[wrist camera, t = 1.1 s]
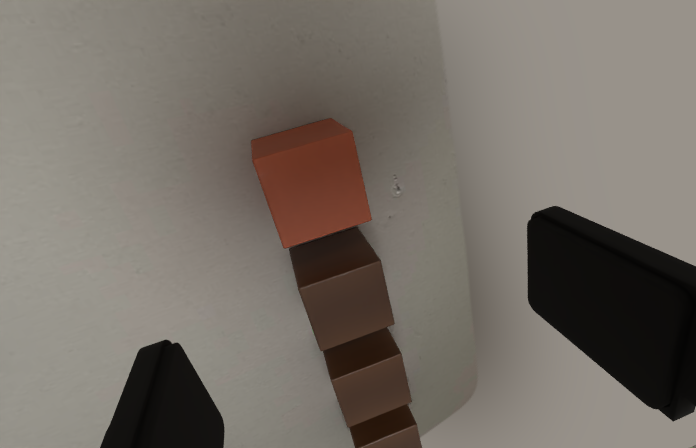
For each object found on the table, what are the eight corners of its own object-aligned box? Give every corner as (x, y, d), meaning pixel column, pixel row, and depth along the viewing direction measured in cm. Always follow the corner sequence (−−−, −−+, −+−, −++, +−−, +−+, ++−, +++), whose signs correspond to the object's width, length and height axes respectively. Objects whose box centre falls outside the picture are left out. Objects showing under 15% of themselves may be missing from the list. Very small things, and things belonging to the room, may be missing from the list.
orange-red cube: (250, 140, 20) (251, 160, 16) (331, 117, 20) (352, 130, 16) (276, 214, 22) (283, 249, 18) (349, 192, 22) (372, 220, 18)
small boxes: (288, 248, 23) (298, 288, 19) (357, 226, 23) (381, 260, 19) (352, 431, 31) (368, 486, 27) (402, 411, 32) (425, 462, 28)
